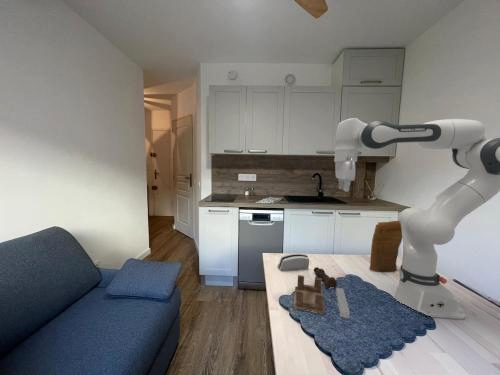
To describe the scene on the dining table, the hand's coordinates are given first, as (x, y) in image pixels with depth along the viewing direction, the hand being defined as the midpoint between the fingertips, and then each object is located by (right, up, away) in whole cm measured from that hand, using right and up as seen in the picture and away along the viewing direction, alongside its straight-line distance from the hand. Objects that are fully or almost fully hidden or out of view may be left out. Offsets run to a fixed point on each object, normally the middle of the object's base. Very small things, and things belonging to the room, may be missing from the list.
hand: (343, 190), depth 94 cm
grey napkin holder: (-16, -44, +25) cm, 53 cm away
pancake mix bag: (+33, -44, +25) cm, 61 cm away
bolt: (-4, -45, +14) cm, 47 cm away
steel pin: (-3, -47, -5) cm, 47 cm away
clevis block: (-16, -46, -3) cm, 49 cm away
